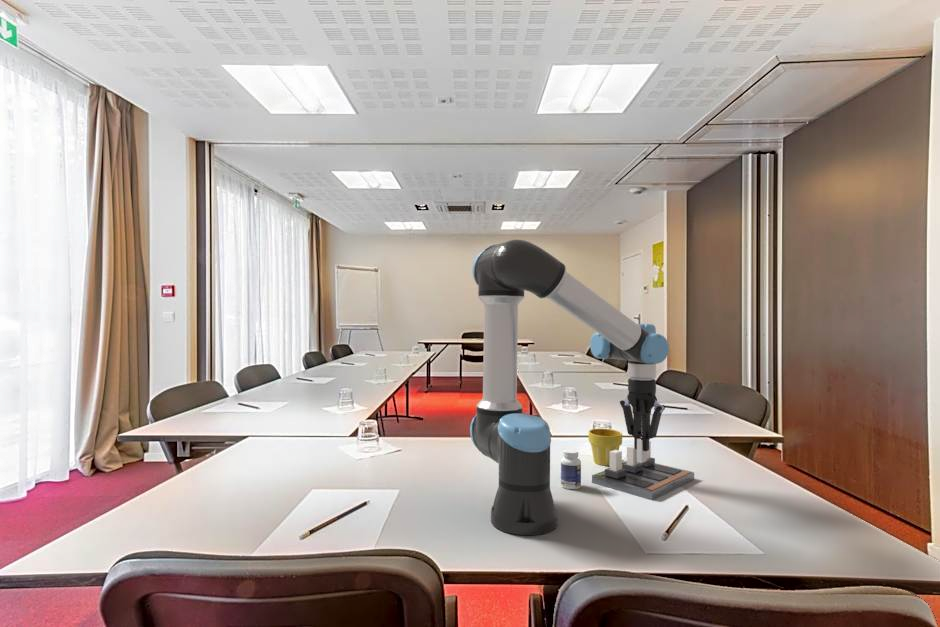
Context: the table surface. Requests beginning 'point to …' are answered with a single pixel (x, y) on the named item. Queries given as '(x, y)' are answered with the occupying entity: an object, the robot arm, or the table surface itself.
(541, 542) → the table surface
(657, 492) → the panel
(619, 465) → the block
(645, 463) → the breaker right
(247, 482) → the table surface
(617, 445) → the plant pot
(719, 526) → the table surface
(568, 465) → the pill bottle
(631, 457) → the breaker mid
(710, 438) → the table surface
